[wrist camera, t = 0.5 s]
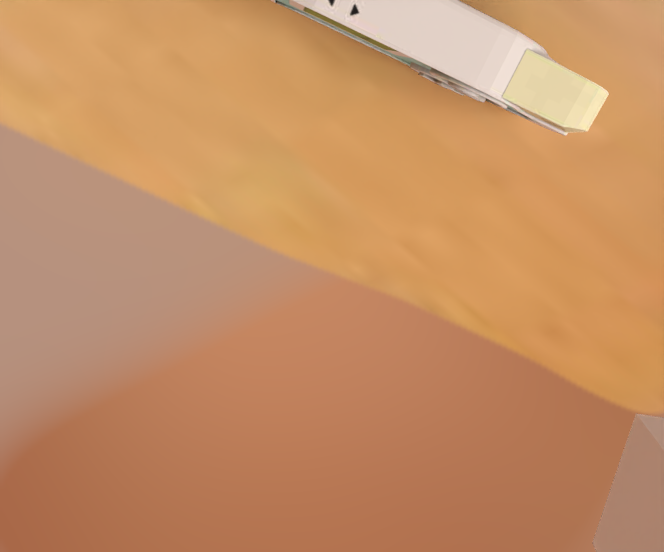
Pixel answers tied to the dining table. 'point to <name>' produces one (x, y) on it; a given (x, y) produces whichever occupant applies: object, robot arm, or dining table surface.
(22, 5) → the dining table surface
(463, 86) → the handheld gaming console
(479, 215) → the dining table surface
